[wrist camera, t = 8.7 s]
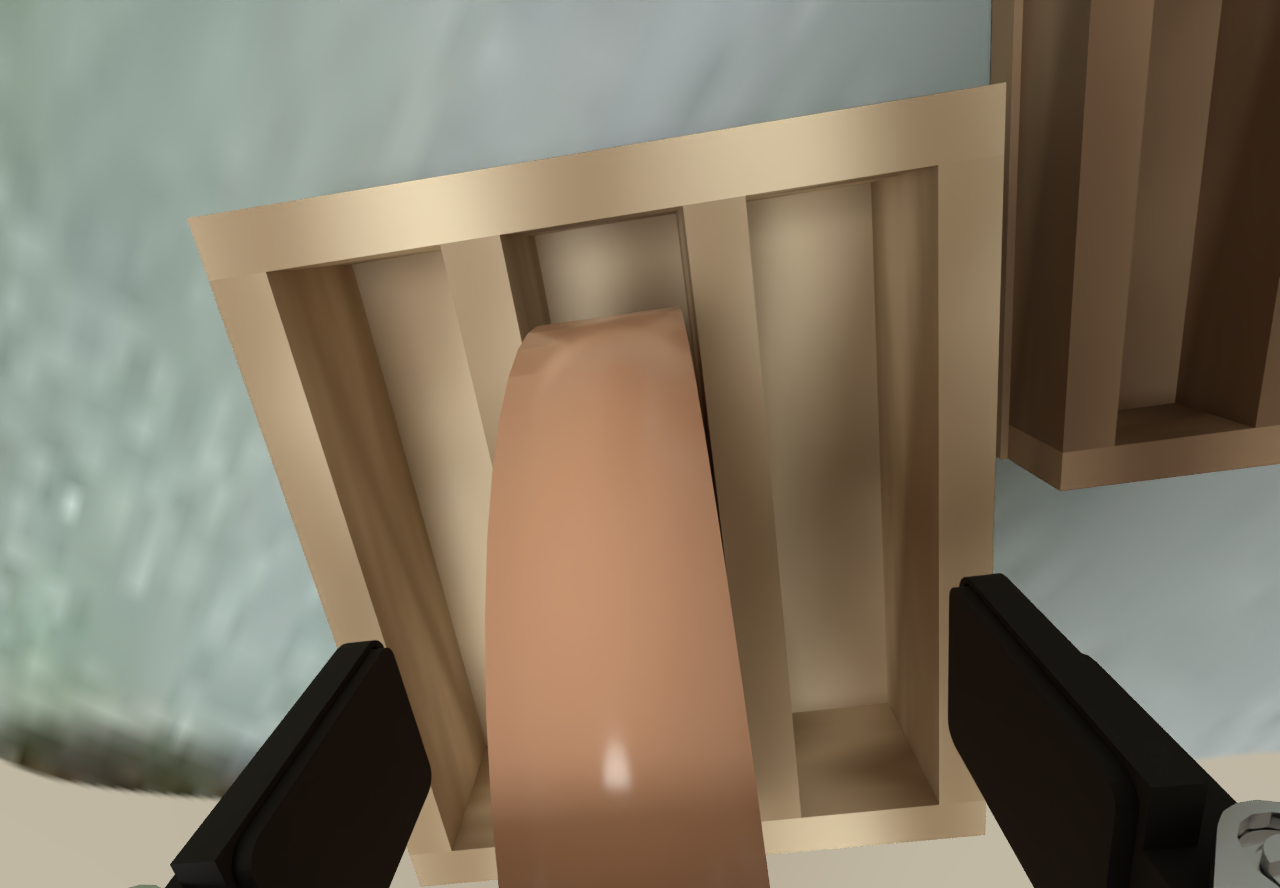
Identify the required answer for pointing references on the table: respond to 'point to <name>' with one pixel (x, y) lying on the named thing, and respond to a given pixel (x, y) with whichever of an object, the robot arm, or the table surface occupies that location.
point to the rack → (731, 413)
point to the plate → (613, 623)
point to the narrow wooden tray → (1139, 238)
